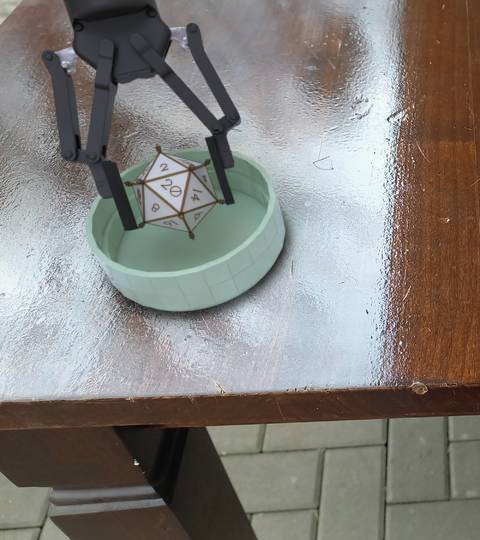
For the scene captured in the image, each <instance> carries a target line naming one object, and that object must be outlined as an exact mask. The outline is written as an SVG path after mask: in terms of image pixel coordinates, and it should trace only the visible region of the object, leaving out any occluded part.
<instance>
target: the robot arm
mask: <svg viewBox="0 0 480 540" xmlns="http://www.w3.org/2000/svg"><path fill="white" fill-rule="evenodd" d="M156 1H157V0H62V2H63V4H64V8H65V10H66V13H67V16H68V19H69V21H70V25H71V28H72V32H73V39H72V46H69V47H65V48H63V49H60V50H57V51H53V50H51V49H47V50H44V51H42V53H41V60H42V62H43V64H44V66H45V68H46V69H47V71H48V73H49V76H50V78H51V83H52V91H53V92H52V93H53V100H54V108H55V117H56V124H57V133H58V142H59V149H60V155H61V158H62V159H63V160H64V161H67V162H68V163H72V164H75V165H76V164H80V165H86V166H88V168H89V170H90V174H91V175H92V178H93V181H94V184H95V188H96V190H97V192H98V195H100V196H101V197H102V198H103V199H109V198H113V199H114V201H115V204H116V207H117V210H118V213H119V216H120V219H121V222H122V225H123V228H124V231H132V230H136V229H138V226H137V223H136V220H135V217H134V214H133V211H132V208H131V205H130V203H129V200H128V197H127V194H126V191H125V188H124V185H123V182H122V179H121V176H120V174H121V173H120V171H119V168H118V165H117V162H115V161H113V160H111V159H107V154H108V146H109V142H110V135H111V127H112V120H113V113H114V108H115V101H116V96H117V94H118V89H119V84H120V85H125V84H129V83H132V82H134V81H135V80H138V79H140V80H148V79H149V80H150V79H153V78H156V76H158V77H159V78H160V79H161V80H162V81H163V82H164V83H165V84H166V85H167V86H168V87H169V88H170V89H171V91H172V92H173V93H174V94H175V95H176V96H177V98H178V99H180V101H182V103H183V104H184V105H185V106H186V107H187V108H188V109H189V110H190V111H191V113H193V115H194V116H195V117H196V118H197V119H198V120H199V122H200V123H201V124H203V126H204V127H205V128H206V129H207V130H208V131H209V132H210V133H211V135H210V136H206V137H204V140H205V144H206V146H207V147H206V148H208V150H209V153H210V156H211V159H212V163H213V166H214V169H215V172H216V175H217V178H218V181H219V184H220V187H221V190H222V193H223V196H224V200H225V203H226V205H231V204H235V201H234V198H233V195H232V192H231V188H230V185H229V182H228V179H227V176H226V173H225V170H226V169H230V168H234V164H235V162H234V158H233V155H232V152H231V151H232V150H231V146H230V143H229V139H228V134H229V132H231V130H233V129H234V128H236V127H239V125H241V123H242V119H241V116H240V113H239V111H238V109H237V107H236V105H235V103H234V102H233V100H232V98H231V96H230V94H229V93H228V91H227V89H226V87H225V86H224V84H223V82H222V80H221V77H219V76H220V75H218V72H217V71H216V69H215V67H214V66H213V63H212V62H211V60H210V58H209V56H208V55H207V53H206V51H205V46H204V41H203V40H204V39H203V35H202V32H201V29H200V27H199V25H198V24H197V23H195V22H189V23H187V24H186V25H185V26H178V27H177V26H176V27H173V26H172V27H170V26H169V25H168V24H167V23H165V21H164V20H163V19H162V16H161V14H160V11H159V7H158V5H157V2H156ZM173 42H177V43H178V44H179V46H180V48H181V49H182V50H183V51H184V52H190V54H191V56H192V58H193V60H194V63H195V65H196V66H197V68H198V70H199V72H200V73H201V75H202V77H203V79H204V81H205V83H206V84H207V86H208V88H209V90H210V91H211V93H212V95H213V98H214V99H215V101H216V102H217V104H218V105H219V106H218V107H219V108H220V110H221V111H222V113H223V116H221V117H220V118H219V119H218V118H217V117H216V116H215V115H214V114H213V112H211V110H210V109H209V108H208V107H207V106H206V105H205V104H204V103H203V102H202V101H201V100H200V98H199V97H198V96H197V95H196V94H195V92H193V91H192V90H191V89H190V88H189V86H188V85H187V84H186V83H185V81H183V80H182V78H180V76H179V75H178V74H177V73H176V72H175V71H174V70H173V69H172V67H171V66H170V65H169V63H167V62H166V58H167V56H168V54H169V50H170V47H171V46H172V43H173ZM79 60H82V61H83V62H84V63H86V64H87V65H88V66H90V67H91V68H92V69H93V70H94V71H95V76H94V83H93V84H94V92H93V100H92V106H91V113H90V119H89V127H88V131H87V133H88V134H87V138H86V147H85V149H83V146H82V137H81V129H80V121H79V111H78V103H77V96H76V87H75V83H74V79H73V75H74V74H75V73H76V72H77V62H78V61H79Z"/></svg>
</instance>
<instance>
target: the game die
mask: <svg viewBox="0 0 480 540" xmlns="http://www.w3.org/2000/svg"><path fill="white" fill-rule="evenodd" d="M154 149H155V151H156V152H157V154H156V155H154V156H155V157H154V156H153V157H154V158H153V160H152V161H151V162H150V163H149V164H148V165H147V167H146V168H145V169H144V170H143V171H142V172H141V174H140V175H139V176H138V177H137V178H136V180H135V181H134V182H133V183H132V182H131V181H130V182H129V181H126V182H123V183H124V184H125V185H126V186H129V187H130V186H132V187H133V190H134V194H135V197H136V200H137V203H138V206H139V209H140V212H141V216H142V219H143V222H140V224H138V229H140V228H143V227H144V226H145V224H151V225H155V226H160V227H165V228H170V229H174V230H179V231H184V232H188V233H189V238H191V239H192V240H193V241H194V237H195V236H194V234H193V233H192V231H193V230H194V229H195V228H196V226H197V225H198V224H199V223H200V222H201V221H202V220H203V219H204V217H205V216H206V215H207V214H208V213H209V212H210V211H211V209H212V208H213V207H214V206H215V205H216V204H217V203H219V204H222V205H223V204H225V201H224V199H223V200H222V199H219V200H218V198H217V195H216V193H215V190H214V187H213V184H212V181H211V179H210V176H209V173H208V170H207V167H206V166H207V165H209V164H211V163H210V162H211V159H206V161H204V163H200V162H196V161H192V160H189V159H185V158H182V157H178V156H174V155H171V154H167V153H166V152H163V151H162V146H161V145H160V144H159V143H157V142H156V144H155V147H154Z"/></svg>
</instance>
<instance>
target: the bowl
mask: <svg viewBox="0 0 480 540" xmlns="http://www.w3.org/2000/svg"><path fill="white" fill-rule="evenodd" d="M231 152H232V155H233V158H234V162H235V164H234V168H230V169H226V170H225V173H226V176H227V179H228V182H229V185H230V188H231V192H232V195H233V198H234V201H235V204H231V205H226V203H225V204H223V205H222V204H219V203H217V204H216V205H215V206H214V207H213V208H212V209H211V211H210V212H209V213H208V214H207V215H206V216H205V217H204V219H203V220H202V221H201V222H200V223H199V224H198V225H197V226H196V228H195V229H194V230H193V231H192V233H193V234H194V236H195V237H194V241H193V240H192V239H191V238H189V233H188V232H184V231H179V230H174V229H170V228H165V227H160V226H155V225H151V224H145V226H144V227H143V228H140V229H136V230H132V231H124V228H123V225H122V222H121V219H120V216H119V213H118V210H117V207H116V204H115V201H114V199H113V198H109V199H103V198H102V197H101V196H100V195H99V194H97V196H96V197H95V198H94V200H93V201H92V203H91V206H90V208H89V211H88V213H87V215H86V218H85V219H86V220H85V234H84V235H85V237H86V240H87V243H88V245H89V247H90V250H91V252H92V253H93V255H94V257H95V259H96V260H97V262H98V263H99V265H100V266H101V268H102V270H103V271H104V273H105V274H106V276H107V277H108V280H109V281H110V283H111V284H112V286H114V287H115V288H116V289H117V291H119V293H121V294H122V295H123V296H124V297H125V298H127V299H129V300H131V301H133V302H135V303H137V304H139V305H140V306H143V307H147V308H151V309H155V310H160V311H167V312H190V311H191V312H193V311H199V310H203V309H208V308H211V307H215V306H219V305H221V304H223V303H226V302H229V301H231V300H233V299H235V298H237V297H239V296H241V295H243V294H244V293H246V292H247V291H249V290H250V289H252V287H254V286H255V285H257V284H258V283H259V282H260V281H261V280H262V279H263V278H264V277H265V276H266V275H267V274H268V273H269V271H270V270H271V269H272V267H273V266H274V264H275V262H276V261H277V259H278V257H279V255H280V253H281V251H282V249H283V247H284V243H285V242H284V241H285V236H286V226H285V221H284V215H283V213H282V208H281V206H280V202H279V199H278V198H279V197H278V195H277V192H276V188H275V187H276V186H275V183H274V180H272V178H271V176H270V175H269V173H268V171H266V169H265V167H263V166H262V165H260V164H259V163H258V162H256V161H255V160H254V159H252V158H251V157H249V156H246V155H245V154H242V153H239V152H236V151H234V150H231ZM165 153H167V154H171V155H174V156H178V157H182V158H185V159H189V160H192V161H196V162H200V163H204V161H206V159H211V156H210V153H209V150H208V147H187V148H182V149H176V150H170V151H165ZM155 156H156V155H154V156H152V157H151V156H150V157H149V158H146V159H143V160H142V161H140V162H137V163H135V164H133V165H132V166H130V167H128V168H127V169H125V170H123V171H122V172H121V173H120V176H121V179H122V182H126V181H129V182H130V181H131V182H132V183H133V182H134V181H135V180H136V178H137V177H138V176H139V175H140V174H141V172H142V171H143V170H144V169H145V168H146V167H147V165H148V164H149V163H150V162H151V161H152V160H153V158H154V157H155ZM210 163H211V164H209V165H207V166H206V167H207V170H208V173H209V176H210V179H211V181H212V184H213V187H214V190H215V193H216V195H217V198H218V200H219V199H222V200H223V199H224V196H223V193H222V190H221V187H220V184H219V181H218V178H217V175H216V172H215V169H214V166H213V163H212V159H211V162H210ZM123 185H124V188H125V191H126V194H127V197H128V200H129V203H130V205H131V208H132V211H133V214H134V217H135V220H136V223H137V226H138V224H140V222H143V219H142V216H141V212H140V209H139V206H138V203H137V200H136V197H135V194H134V190H133V187H132V186H130V187H129V186H126V185H125V184H124V183H123ZM224 201H225V200H224Z"/></svg>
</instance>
